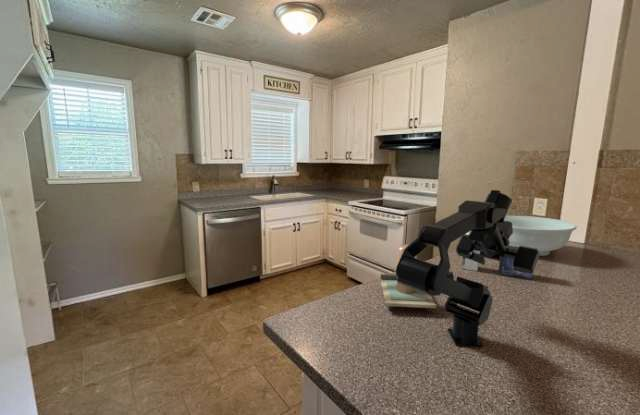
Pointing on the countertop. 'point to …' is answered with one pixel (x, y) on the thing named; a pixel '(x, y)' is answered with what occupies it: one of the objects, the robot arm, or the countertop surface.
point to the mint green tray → (403, 295)
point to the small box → (511, 267)
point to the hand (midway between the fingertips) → (501, 267)
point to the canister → (400, 287)
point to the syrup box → (469, 263)
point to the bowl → (539, 233)
